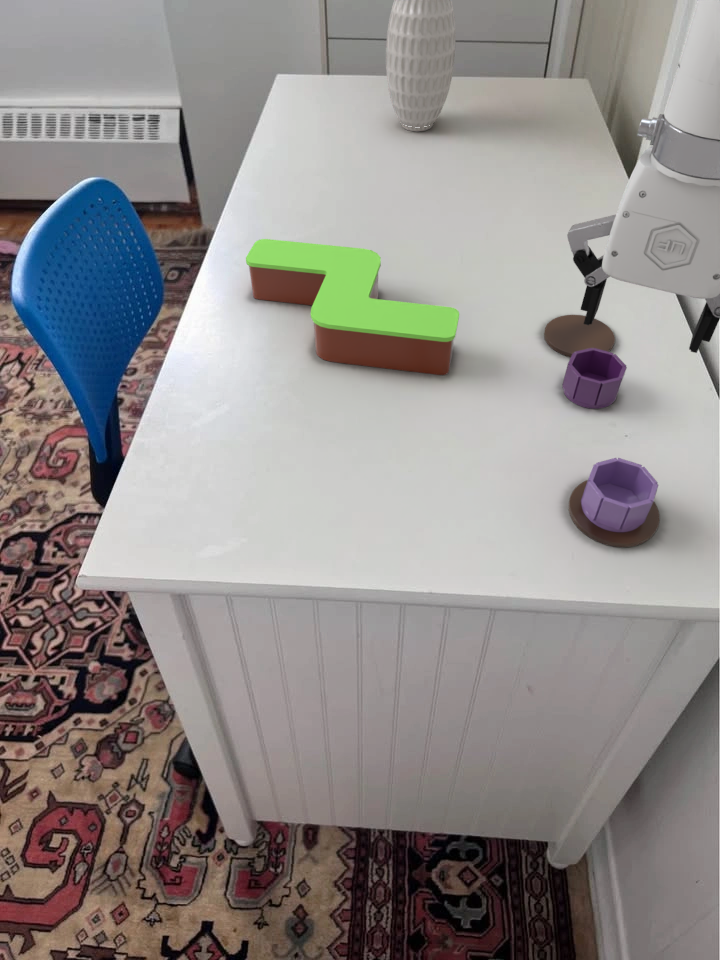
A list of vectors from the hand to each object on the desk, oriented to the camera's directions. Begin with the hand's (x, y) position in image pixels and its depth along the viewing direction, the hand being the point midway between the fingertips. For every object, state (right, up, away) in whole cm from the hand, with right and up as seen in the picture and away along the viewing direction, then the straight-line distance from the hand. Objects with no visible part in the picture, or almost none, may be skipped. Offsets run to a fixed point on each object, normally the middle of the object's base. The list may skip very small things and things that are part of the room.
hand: (641, 330), depth 67 cm
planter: (-28, +7, +30) cm, 42 cm away
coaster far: (+2, +5, +27) cm, 28 cm away
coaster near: (0, -17, +7) cm, 19 cm away
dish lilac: (0, -17, +6) cm, 18 cm away
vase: (-15, +56, +75) cm, 95 cm away
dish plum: (+1, -3, +20) cm, 20 cm away
